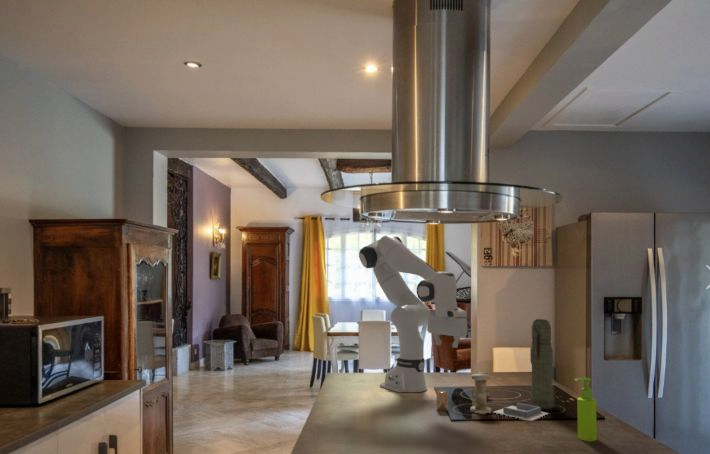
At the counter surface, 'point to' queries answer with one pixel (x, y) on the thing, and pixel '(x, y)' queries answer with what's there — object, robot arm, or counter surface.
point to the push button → (483, 373)
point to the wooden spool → (480, 394)
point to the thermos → (541, 365)
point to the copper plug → (442, 401)
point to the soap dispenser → (586, 413)
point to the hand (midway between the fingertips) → (446, 346)
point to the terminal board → (522, 412)
